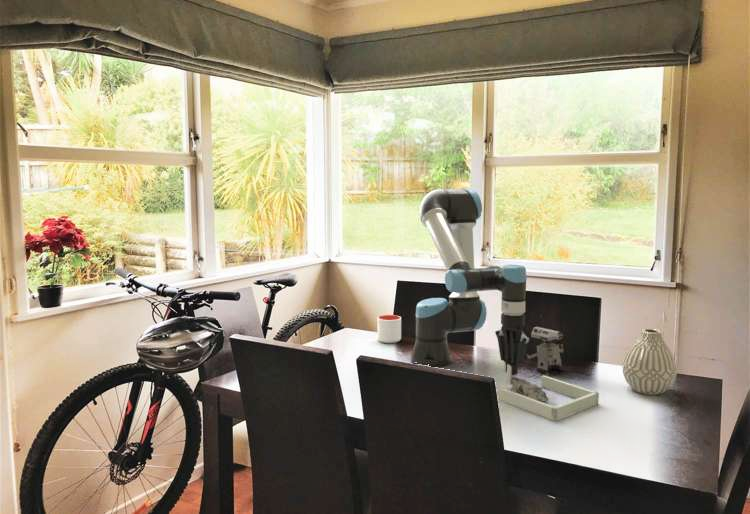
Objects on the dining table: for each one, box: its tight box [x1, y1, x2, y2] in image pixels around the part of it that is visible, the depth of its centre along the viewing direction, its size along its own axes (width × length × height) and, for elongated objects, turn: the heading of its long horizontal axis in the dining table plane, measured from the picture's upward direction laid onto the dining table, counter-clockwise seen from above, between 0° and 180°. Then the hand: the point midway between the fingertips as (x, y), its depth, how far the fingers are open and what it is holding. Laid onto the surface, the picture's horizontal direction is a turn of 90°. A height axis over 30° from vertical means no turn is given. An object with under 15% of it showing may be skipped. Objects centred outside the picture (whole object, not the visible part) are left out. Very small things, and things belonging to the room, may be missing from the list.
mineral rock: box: [511, 377, 549, 402], centre depth 190 cm, size 15×8×4 cm, turn 9°
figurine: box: [525, 326, 565, 375], centre depth 216 cm, size 9×12×15 cm
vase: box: [622, 328, 678, 396], centre depth 194 cm, size 16×16×20 cm
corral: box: [499, 374, 600, 422], centre depth 186 cm, size 20×21×4 cm
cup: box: [377, 314, 402, 344], centre depth 255 cm, size 10×10×10 cm
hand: (511, 383), depth 197 cm, fingers closed
